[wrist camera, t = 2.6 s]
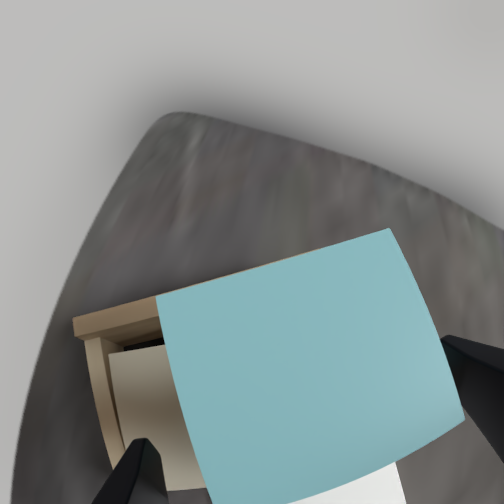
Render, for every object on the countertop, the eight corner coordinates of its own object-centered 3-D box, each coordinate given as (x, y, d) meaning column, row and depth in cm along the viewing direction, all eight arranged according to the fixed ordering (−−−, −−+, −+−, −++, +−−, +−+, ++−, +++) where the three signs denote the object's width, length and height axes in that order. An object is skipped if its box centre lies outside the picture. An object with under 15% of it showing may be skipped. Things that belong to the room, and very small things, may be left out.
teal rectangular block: (330, 406, 15) (465, 419, 4) (250, 431, 15) (219, 519, 4) (307, 340, 17) (389, 228, 6) (229, 364, 16) (155, 296, 5)
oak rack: (365, 435, 14) (393, 444, 11) (146, 490, 13) (117, 510, 9) (309, 277, 18) (320, 248, 15) (106, 334, 17) (72, 317, 14)
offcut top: (225, 475, 12) (220, 485, 11) (151, 482, 12) (137, 491, 10) (194, 347, 15) (185, 340, 14) (124, 359, 15) (108, 354, 13)
